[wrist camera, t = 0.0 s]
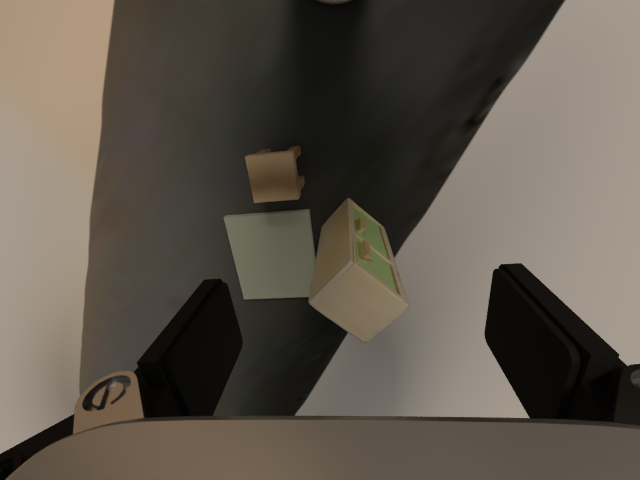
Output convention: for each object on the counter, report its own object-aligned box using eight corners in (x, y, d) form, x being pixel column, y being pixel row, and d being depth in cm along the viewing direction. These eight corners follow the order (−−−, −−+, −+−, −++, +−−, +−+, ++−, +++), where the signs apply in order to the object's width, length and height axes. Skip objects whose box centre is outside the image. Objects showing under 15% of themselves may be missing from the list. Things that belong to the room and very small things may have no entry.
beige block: (389, 224, 48) (415, 303, 29) (358, 254, 51) (363, 346, 32) (351, 192, 47) (353, 254, 28) (321, 225, 49) (304, 303, 30)
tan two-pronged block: (261, 148, 45) (244, 156, 38) (301, 143, 44) (291, 152, 37) (268, 187, 47) (254, 203, 40) (306, 184, 47) (298, 199, 39)
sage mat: (225, 215, 50) (223, 217, 49) (309, 208, 48) (308, 211, 47) (245, 296, 56) (244, 299, 55) (320, 293, 55) (319, 296, 54)
